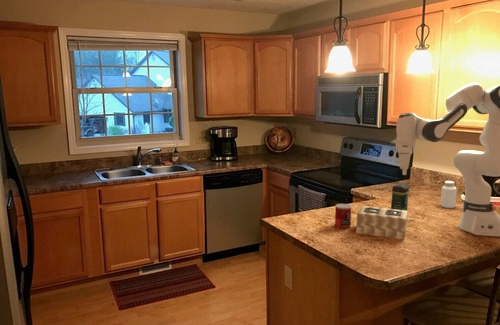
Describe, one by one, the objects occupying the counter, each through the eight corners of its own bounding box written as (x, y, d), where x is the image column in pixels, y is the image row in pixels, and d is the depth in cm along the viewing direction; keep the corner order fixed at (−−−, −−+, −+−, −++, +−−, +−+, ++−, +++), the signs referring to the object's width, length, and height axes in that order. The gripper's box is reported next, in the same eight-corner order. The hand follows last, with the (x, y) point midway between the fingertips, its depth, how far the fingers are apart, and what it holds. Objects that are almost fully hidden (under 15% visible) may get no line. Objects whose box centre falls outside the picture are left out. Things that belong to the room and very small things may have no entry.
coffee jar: (403, 221, 218) (405, 187, 214) (388, 218, 222) (390, 184, 219) (409, 216, 225) (411, 183, 222) (394, 214, 230) (396, 181, 227)
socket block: (406, 230, 204) (407, 209, 202) (404, 239, 191) (405, 218, 189) (360, 224, 212) (361, 205, 211) (356, 233, 200) (357, 212, 198)
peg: (397, 231, 201) (398, 211, 199) (396, 234, 197) (397, 214, 195) (388, 230, 202) (389, 210, 201) (387, 232, 199) (388, 213, 197)
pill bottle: (440, 207, 242) (442, 182, 240) (440, 204, 249) (442, 179, 247) (455, 209, 239) (457, 183, 237) (454, 205, 247) (456, 180, 244)
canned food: (341, 230, 204) (342, 208, 202) (331, 225, 211) (332, 204, 209) (353, 227, 208) (354, 206, 206) (343, 223, 215) (344, 202, 213)
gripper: (399, 143, 210) (398, 169, 213) (397, 149, 192) (396, 178, 195) (412, 143, 208) (411, 170, 211) (411, 150, 190) (410, 179, 192)
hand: (404, 174), depth 203 cm, fingers closed
